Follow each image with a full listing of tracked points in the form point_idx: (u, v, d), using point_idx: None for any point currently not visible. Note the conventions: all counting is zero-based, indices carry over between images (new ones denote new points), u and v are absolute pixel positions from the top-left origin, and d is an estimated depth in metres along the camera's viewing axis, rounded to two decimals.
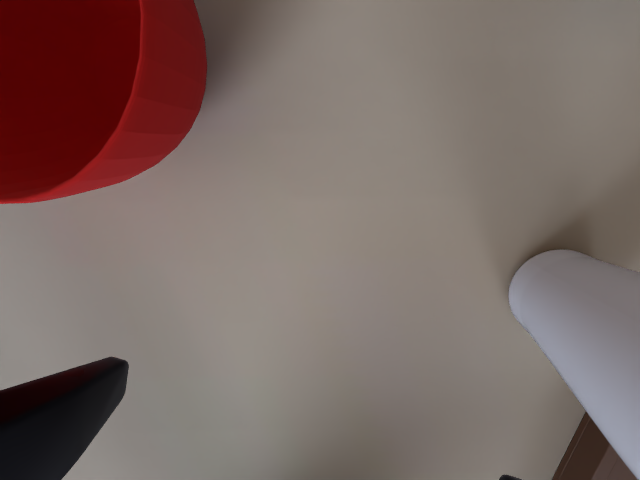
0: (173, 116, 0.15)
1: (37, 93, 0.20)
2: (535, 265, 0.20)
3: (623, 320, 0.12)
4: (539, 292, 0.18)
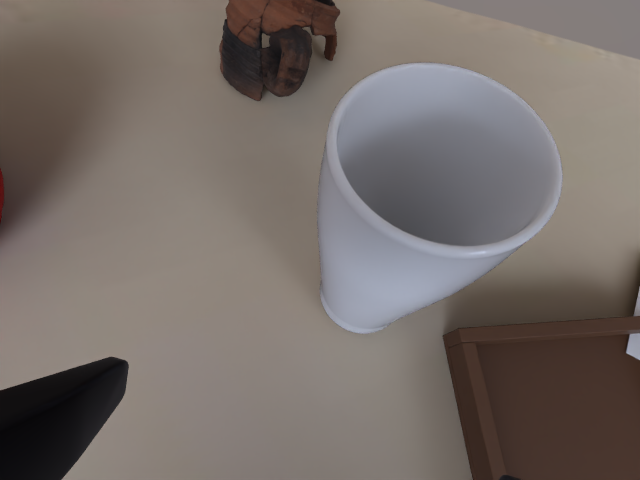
0: None
1: None
2: None
3: None
4: None
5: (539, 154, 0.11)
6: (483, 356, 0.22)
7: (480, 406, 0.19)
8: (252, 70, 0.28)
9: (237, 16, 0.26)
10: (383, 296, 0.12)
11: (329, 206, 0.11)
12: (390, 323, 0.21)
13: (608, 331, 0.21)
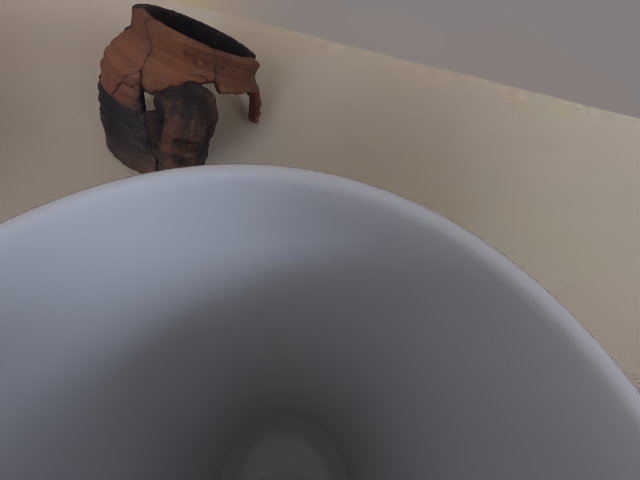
0: None
1: None
2: None
3: None
4: None
5: None
6: None
7: None
8: (137, 141, 0.20)
9: (110, 70, 0.19)
10: None
11: None
12: None
13: None
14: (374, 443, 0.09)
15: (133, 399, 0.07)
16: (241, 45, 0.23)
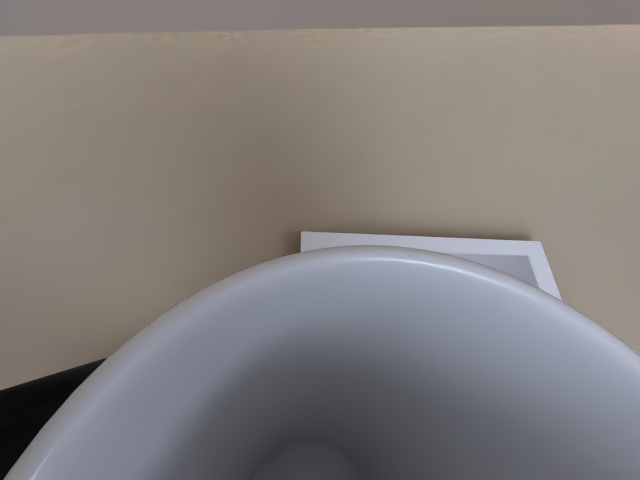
0: None
1: None
2: None
3: None
4: None
5: None
6: None
7: None
8: None
9: None
10: None
11: None
12: None
13: None
14: None
15: (215, 426, 0.07)
16: None
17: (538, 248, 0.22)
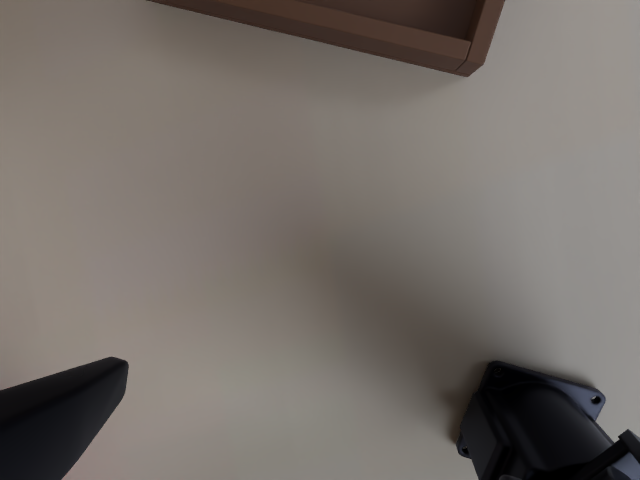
0: None
1: None
2: None
3: None
4: None
5: None
6: None
7: None
8: None
9: None
10: None
11: None
12: None
13: None
14: None
15: None
16: None
17: None
